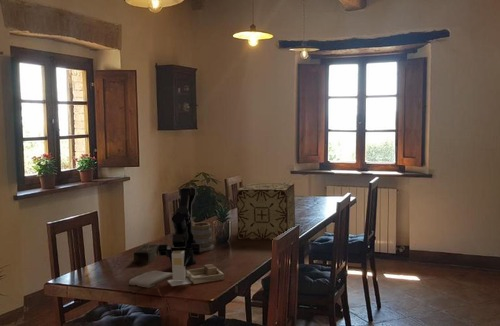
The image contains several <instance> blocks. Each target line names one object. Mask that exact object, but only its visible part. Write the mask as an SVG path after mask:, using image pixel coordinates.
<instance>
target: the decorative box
mask: <svg viewBox="0 0 500 326" xmlns="http://www.w3.org/2000/svg"><path fill="white" fill-rule="evenodd" d="M295 205H296V204H295V183H278V182H277V183H275V182H274V183H267V182H266V183H261V182H260V183H259V182H257V183H256V182H255V183H253V182H252V183H251V182H250V183H247V184H245V185H243V186H241V187H239V188H236V212H237V214H236V215H237V239H238V240H255V239H268V240H267V241H273V240H272V239H273V238H275V237H277V236H278V235H280V234H282V233H284V232H285V231H287V230H288V229H290V228H292V227H295V228H296V214H295V213H296V210H295V209H296V206H295Z"/></svg>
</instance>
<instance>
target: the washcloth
mask: <svg viewBox="0 0 500 326" xmlns="http://www.w3.org/2000/svg"><path fill="white" fill-rule="evenodd" d="M171 277H173V274H172V272H165V271H162V270H151V271H146V272H144V273H142V274H140V275H139V274H138V275H136V276H134V277H132V278H131V279H130V280H129V281H128V283H129V285H131V286H135V285H137V287H141V288H148V289H149V288H153V287H155V286H156V285H158V283H161V282H163V281H165V280H166V279H168V278H171Z"/></svg>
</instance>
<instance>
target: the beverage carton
mask: <svg viewBox="0 0 500 326" xmlns="http://www.w3.org/2000/svg"><path fill="white" fill-rule="evenodd" d="M158 246H159V245H158V244H149V243H147V244H144V245H143V246H141V247H140V248H138V249H137V250H136V251H134V253H133V264H134V265H149V264H150V263H151V262H152V261H153V260H154V259H156V257H158V255H159V252H158Z"/></svg>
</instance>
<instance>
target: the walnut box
mask: <svg viewBox="0 0 500 326" xmlns="http://www.w3.org/2000/svg"><path fill="white" fill-rule="evenodd" d="M203 268H204V274H205V275H206V276H210V275H217V269H218V267H217V266H215V265H214V264H213V263H211V264H210V263H209V264H204V265H203Z"/></svg>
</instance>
